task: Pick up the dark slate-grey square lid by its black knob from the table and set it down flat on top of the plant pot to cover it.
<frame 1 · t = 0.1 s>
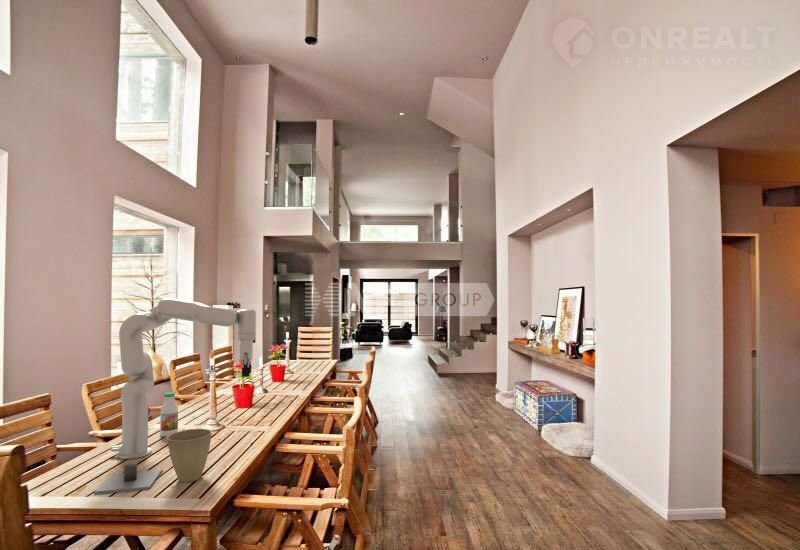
hand: (246, 374, 209), 31 cm above the table, tool pointing down, fingers open, 9 cm apart
lid: (130, 484, 167), on the table
plant pot: (189, 479, 170), on the table
milk bottle: (168, 435, 226), on the table
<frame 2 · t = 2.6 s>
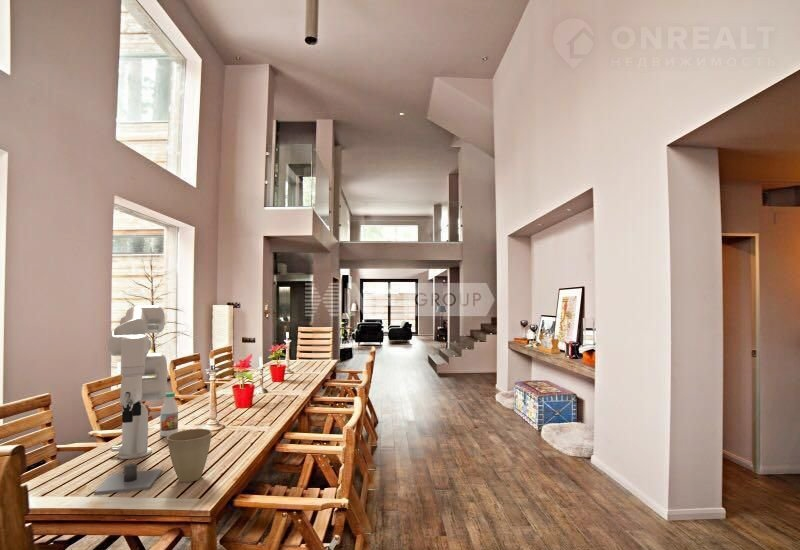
hand: (131, 418, 168), 22 cm above the table, tool pointing down, fingers open, 9 cm apart
nothing on the table moved.
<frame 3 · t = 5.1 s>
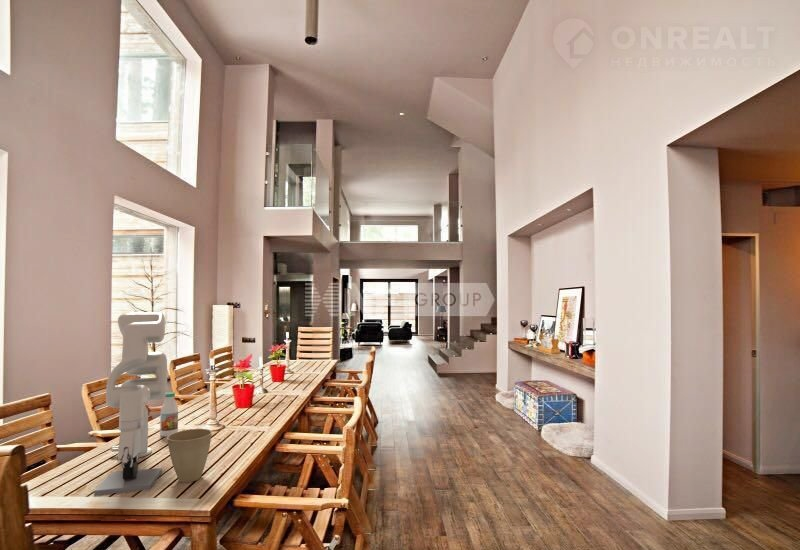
hand: (130, 475, 167), 2 cm above the table, tool pointing down, fingers closed on lid, 4 cm apart
lid: (130, 482, 167), on the table, touching gripper
everything else where it was.
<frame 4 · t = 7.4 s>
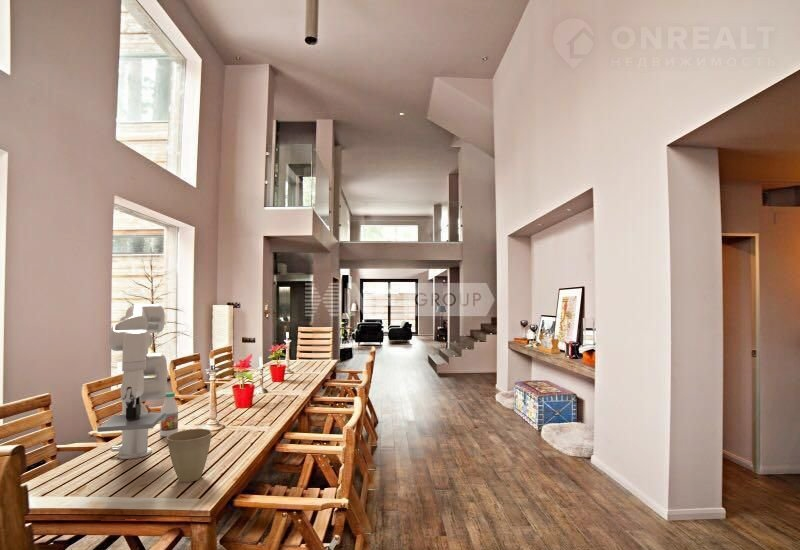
hand: (133, 416, 168), 23 cm above the table, tool pointing down, fingers closed on lid, 4 cm apart
lid: (133, 423, 168), point 21 cm above the table, touching gripper
everything else where it was.
when the fingers open (19 cm above the table, at t = 9.5 s): lid drops 1 cm, resting on plant pot.
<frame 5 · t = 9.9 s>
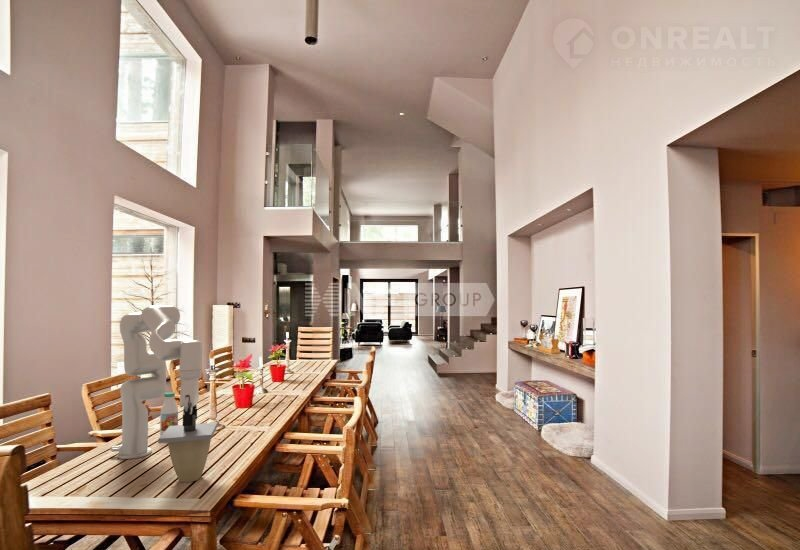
hand: (190, 422, 171), 20 cm above the table, tool pointing down, fingers open, 7 cm apart
lid: (189, 434, 171), point 16 cm above the table, touching plant pot
plant pot: (189, 479, 170), on the table, touching lid
everything else where it was.
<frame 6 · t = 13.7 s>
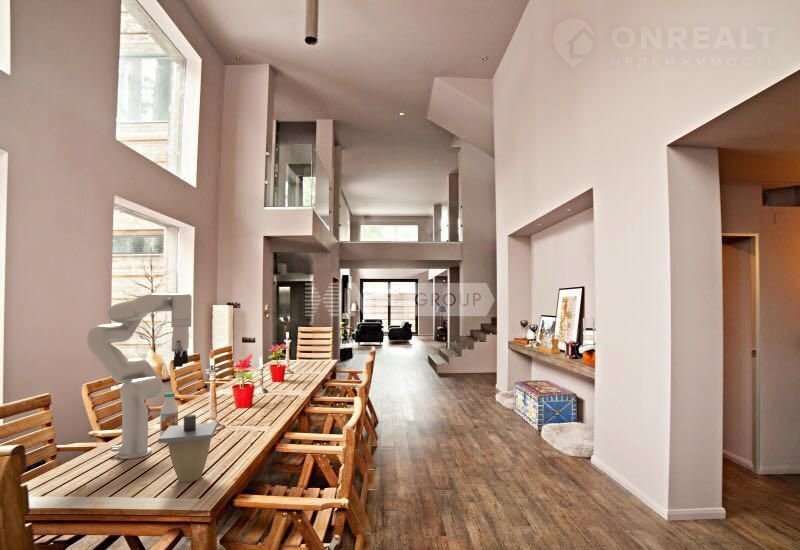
hand: (180, 365, 192), 38 cm above the table, tool pointing down, fingers open, 9 cm apart
nothing on the table moved.
at the end: lid 0.1 cm off-centre on the plant pot, point 16.1 cm above the plant pot's base; lid tilted 0°; the gripper is holding nothing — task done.
